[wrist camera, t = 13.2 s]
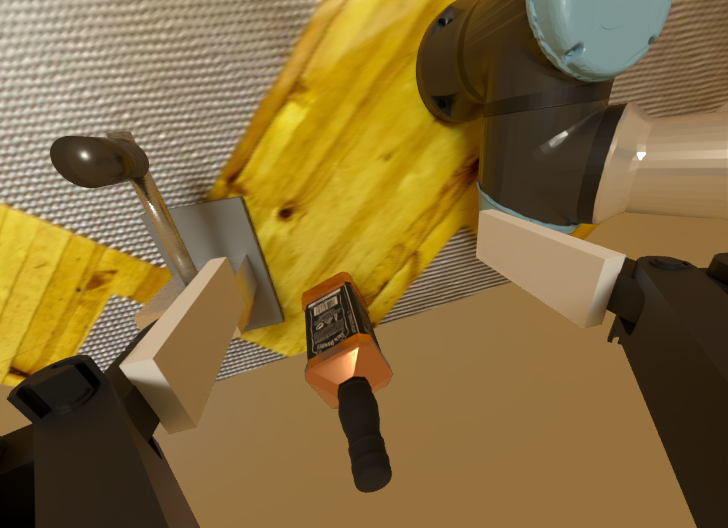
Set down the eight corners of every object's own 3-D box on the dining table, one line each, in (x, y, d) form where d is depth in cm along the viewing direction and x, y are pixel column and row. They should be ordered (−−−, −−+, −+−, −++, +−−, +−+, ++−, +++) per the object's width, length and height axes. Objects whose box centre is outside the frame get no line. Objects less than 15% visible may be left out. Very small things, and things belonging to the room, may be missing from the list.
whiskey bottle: (324, 328, 55) (350, 526, 26) (298, 294, 50) (297, 489, 22) (367, 305, 55) (440, 477, 26) (345, 269, 50) (405, 430, 22)
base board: (145, 212, 39) (140, 215, 38) (241, 195, 41) (239, 197, 39) (209, 335, 49) (207, 340, 48) (283, 317, 51) (283, 321, 50)
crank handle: (103, 136, 27) (33, 132, 20) (144, 130, 28) (90, 125, 20) (188, 299, 36) (161, 336, 29) (218, 292, 37) (199, 327, 29)
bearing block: (182, 266, 42) (132, 318, 29) (246, 253, 43) (224, 297, 31) (198, 297, 44) (158, 356, 32) (257, 284, 46) (241, 335, 33)
